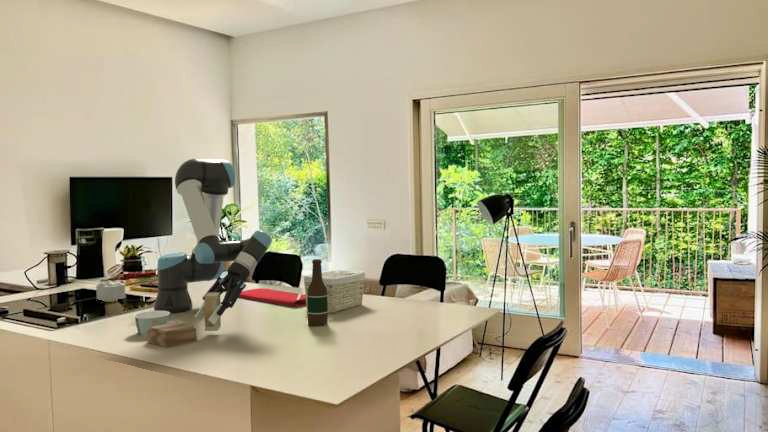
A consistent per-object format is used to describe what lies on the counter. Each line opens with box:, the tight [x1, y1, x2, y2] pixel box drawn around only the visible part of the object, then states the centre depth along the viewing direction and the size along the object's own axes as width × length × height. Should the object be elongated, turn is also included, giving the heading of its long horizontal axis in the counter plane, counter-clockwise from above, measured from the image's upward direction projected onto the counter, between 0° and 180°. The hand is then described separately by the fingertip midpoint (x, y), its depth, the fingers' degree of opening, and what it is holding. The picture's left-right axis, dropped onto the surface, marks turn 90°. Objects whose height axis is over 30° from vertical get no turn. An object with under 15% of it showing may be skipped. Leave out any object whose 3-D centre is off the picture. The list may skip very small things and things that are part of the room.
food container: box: [133, 310, 171, 337], centre depth 204 cm, size 12×12×6 cm
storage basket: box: [303, 269, 366, 314], centre depth 245 cm, size 24×16×15 cm
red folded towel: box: [238, 288, 306, 308], centre depth 263 cm, size 16×41×4 cm, turn 50°
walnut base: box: [147, 321, 198, 349], centre depth 191 cm, size 11×11×5 cm
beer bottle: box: [306, 258, 329, 327], centre depth 214 cm, size 8×8×24 cm
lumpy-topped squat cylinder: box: [95, 279, 126, 301], centre depth 265 cm, size 10×13×9 cm
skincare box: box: [203, 292, 222, 332], centre depth 199 cm, size 6×4×12 cm
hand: (204, 320), depth 196 cm, fingers closed on skincare box, 7 cm apart
